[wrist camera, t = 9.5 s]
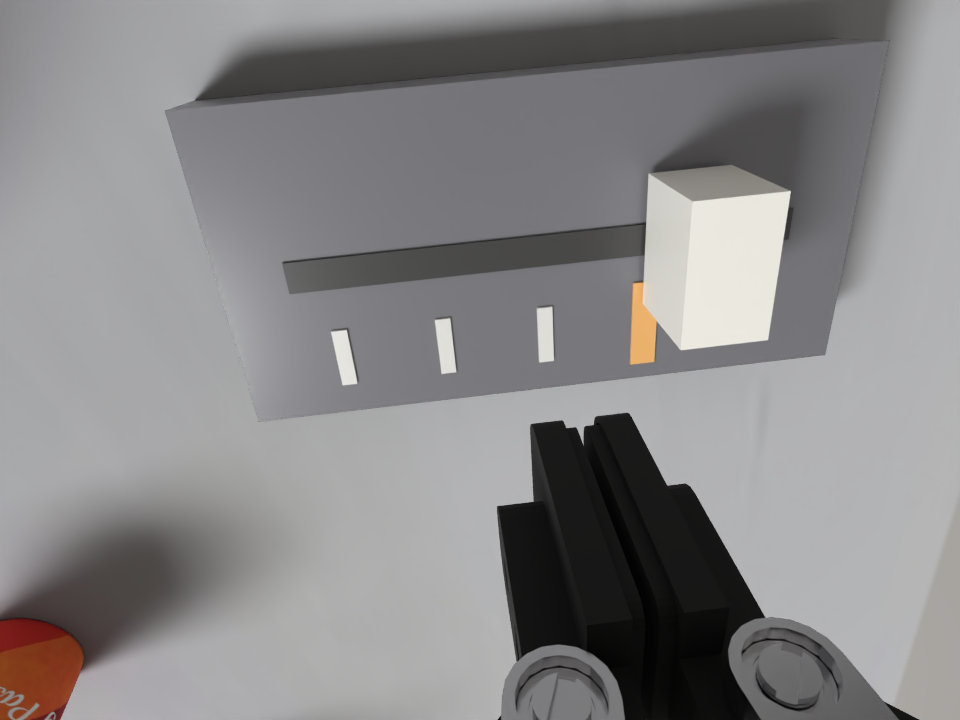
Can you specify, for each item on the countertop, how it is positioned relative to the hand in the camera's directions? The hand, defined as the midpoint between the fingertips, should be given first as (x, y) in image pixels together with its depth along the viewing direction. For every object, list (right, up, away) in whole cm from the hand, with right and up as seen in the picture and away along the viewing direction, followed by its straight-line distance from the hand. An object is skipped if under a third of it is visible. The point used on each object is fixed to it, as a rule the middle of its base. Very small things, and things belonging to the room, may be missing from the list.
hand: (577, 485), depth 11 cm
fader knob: (+6, +7, +12) cm, 15 cm away
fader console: (0, +8, +15) cm, 17 cm away
